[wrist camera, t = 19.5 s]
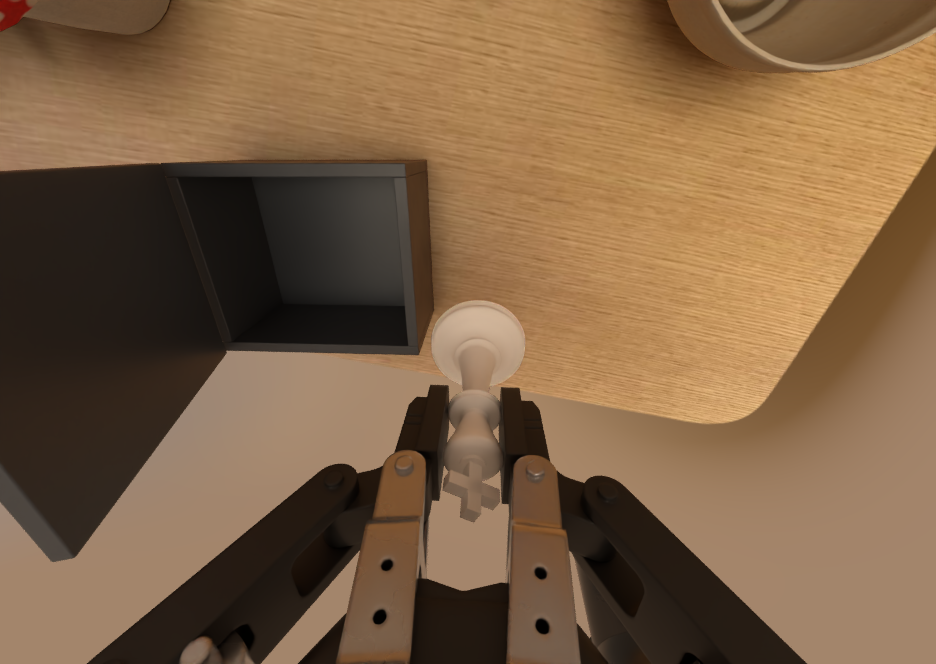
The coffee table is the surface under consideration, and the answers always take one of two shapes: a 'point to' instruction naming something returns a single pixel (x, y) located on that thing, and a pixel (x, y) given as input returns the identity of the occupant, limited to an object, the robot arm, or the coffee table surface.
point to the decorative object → (87, 14)
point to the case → (311, 252)
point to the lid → (92, 341)
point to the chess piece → (475, 394)
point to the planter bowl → (803, 31)
